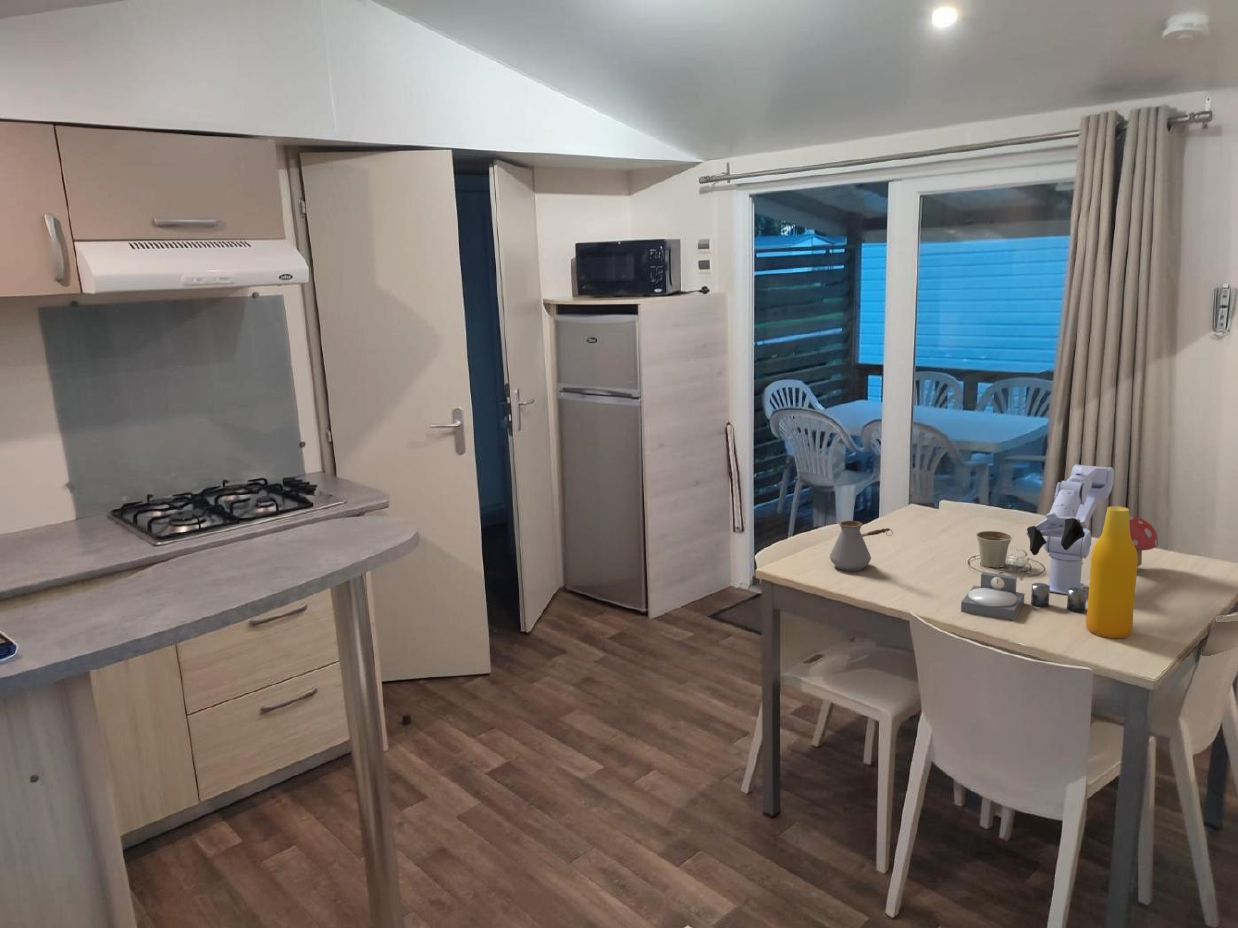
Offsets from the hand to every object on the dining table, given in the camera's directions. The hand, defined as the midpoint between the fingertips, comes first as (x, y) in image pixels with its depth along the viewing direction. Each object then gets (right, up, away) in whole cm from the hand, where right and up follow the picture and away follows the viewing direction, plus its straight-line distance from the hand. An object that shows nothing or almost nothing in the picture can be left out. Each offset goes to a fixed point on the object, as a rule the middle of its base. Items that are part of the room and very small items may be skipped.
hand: (1048, 549), depth 208 cm
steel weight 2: (+9, -15, +5) cm, 19 cm away
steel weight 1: (+2, -15, +9) cm, 18 cm away
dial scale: (-9, -15, +9) cm, 20 cm away
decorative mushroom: (+37, -9, +31) cm, 49 cm away
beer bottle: (+10, -18, -8) cm, 22 cm away
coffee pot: (-34, -10, +39) cm, 52 cm away
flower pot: (+4, -8, +39) cm, 41 cm away
